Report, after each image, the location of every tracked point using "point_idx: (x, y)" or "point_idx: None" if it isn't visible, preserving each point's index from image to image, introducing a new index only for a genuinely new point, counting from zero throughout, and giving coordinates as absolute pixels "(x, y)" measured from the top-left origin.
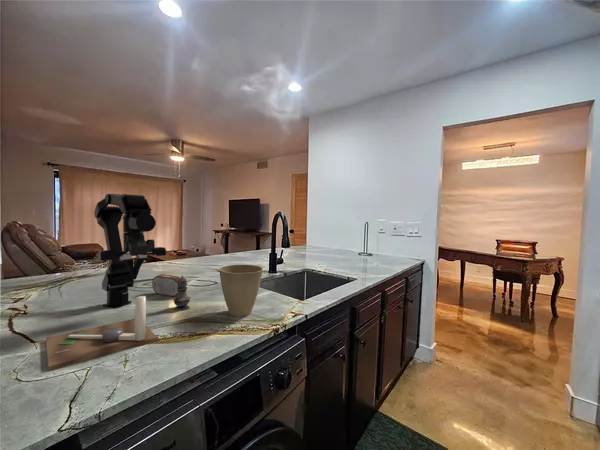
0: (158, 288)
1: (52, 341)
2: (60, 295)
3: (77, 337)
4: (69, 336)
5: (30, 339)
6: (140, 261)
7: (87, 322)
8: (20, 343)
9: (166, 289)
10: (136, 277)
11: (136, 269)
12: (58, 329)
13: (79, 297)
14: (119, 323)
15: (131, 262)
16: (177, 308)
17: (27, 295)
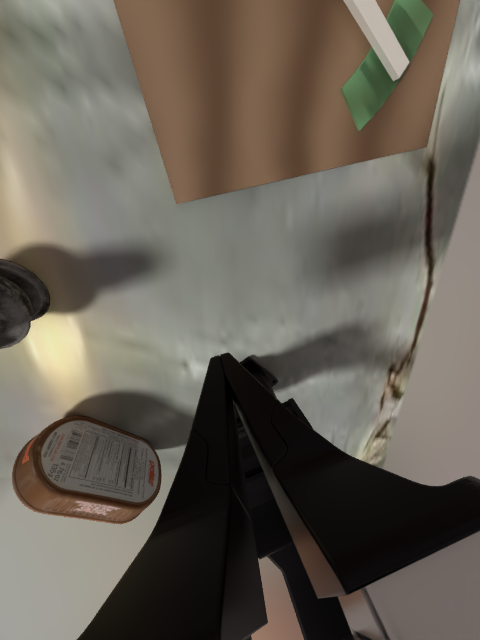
0: (140, 457)
1: (428, 84)
2: (333, 444)
3: (386, 30)
4: (404, 59)
5: (429, 193)
6: (181, 553)
7: (316, 268)
8: (449, 173)
9: (109, 448)
10: (209, 364)
11: (220, 419)
12: (374, 242)
13: None
14: (243, 167)
15: (321, 490)
16: (21, 279)
17: (369, 446)
